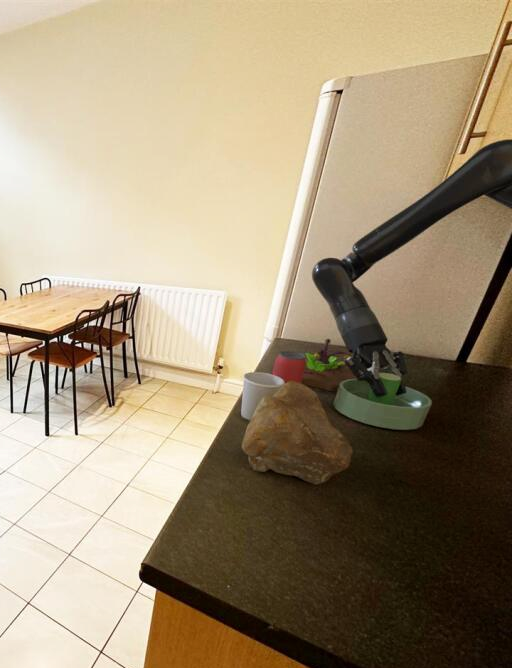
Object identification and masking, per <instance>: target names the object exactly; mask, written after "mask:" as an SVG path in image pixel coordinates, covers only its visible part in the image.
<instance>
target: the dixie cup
mask: <svg viewBox="0 0 512 668" xmlns="http://www.w3.org/2000/svg"><path fill="white" fill-rule="evenodd" d="M242 378H243V383H242V397H241V399H242V400H241V409H240V410H241V411H240V415H241V417H242V418H243V419H245V420H248V421H251V419H252V416H253V414H254V412H255V410H256V408H257V406H258V404H259V403H260V401H261V400H262V398H264V397H266V396H274V395H275V394H276V393H277V392H278V391H279V390H280V389H281V388H282V386H283V385H284V384H285V382H284V380H283V379H281V378H280V377H278V376H275V375H272V373H267V372H261V371H251V372H246V373H244V374H243V376H242Z"/></svg>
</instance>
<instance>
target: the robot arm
mask: <svg viewBox="0 0 512 668" xmlns="http://www.w3.org/2000/svg"><path fill="white" fill-rule="evenodd" d="M483 196H484V197H486V198H489V200H492V201H494V202H496V203H499V204H500V205H502V206H504V207H506V208H507V209H509V210H510V211H512V138H510V139H502V140H497V141H494V142H490V143H488V144H486V145H485V146H483V147H481V148H479V149H478V150H476V151H475V152H474V153H472V154H471V156H470V157H469V158H468V159H467V160H466V161H465V162H464V163H462V165H461V166H459V168H457V169H456V170H455V171H454V172H452V174H450V175H449V176H448V177H447V178H446V179H445V180H443V181H442V182H440V183H439V184H438V185H437V186H436V187H434V188H433V189H431V190H430V191H429V192H427V193H426V194H425V195H423V196H422V197H421V198H419V199H418V200H416V201H415V202H413V203H411V204H410V205H408V206H407V207H405V208H403V210H401V211H399V212H397V213H396V214H394V215H393V216H391V217H389V218H388V219H387V220H385V221H384V222H383V223H381V224H380V225H379V224H378V225H377V226H376V227H375V228H373V229H372V230H370V231H369V232H367V233H365V234H364V235H363V236H361V237H360V238H359V239H357V240H356V241H355V242H354V243H353V244H352V246H351V251H350V252H349V253H348V254H347V255H346V256H345V257H343V258H342V259H340V258H338V257H337V258H336V257H325V258H321V260H319V261H317V262H316V263H315V264H314V266H313V267H312V270H311V279H312V282H313V284H314V286H315V287H316V289H317V291H318V292H319V293H320V295H321V297H322V298H323V299H324V300H325V301H326V303H327V305H328V307H329V310H330V312H331V314H332V317H333V319H334V321H335V324H336V328H337V330H338V332H339V334H340V337H341V339H342V341H343V343H344V345H345V347H346V349H347V352H349V353H350V354H352V355H351V356H349V358H347V359H344V360H343V362H345V363H344V365H347V366H348V367H349V369H350V370H351V371H352V373H353V374H354V375H355V377H356V378H357V379H358V380H359V381H362V380H363V381H366V382H367V383H369V385H370V387H371V389H372V391H373V393H374V394H375V396H376V397H382V396H385V395H387V391H386V389H385V387H384V385H383V383H382V381H381V379H380V380H378V379H379V373H389V374H394V375H397V376H399V377H401V378H403V377H402V376H404V375H407V374H408V369H407V365H406V364H407V363H406V361H405V357H404V353H403V351H400V350H399V351H396V352H394V351H391V349H389V348H388V347H387V346H386V344H387V342H388V340H389V339H388V337H387V335H386V333H385V331H384V330H383V329H384V328H383V327H382V325H381V324H380V321H379V320H378V317H377V315H376V314H375V312H374V311H373V310H372V308H371V306H370V305H369V303H368V301H367V299H366V297H365V295H364V293H363V292H362V291H361V290H360V289H359V288H358V287H356V285H354V282H356V281H357V280H359V278H361V277H362V276H363V275H364V274H366V273H367V272H368V271H369V270H370V269H371V268H372V267H373V266H374V265H375V264H377V263H378V262H380V261H382V260H384V259H385V258H387V257H388V256H390V255H391V254H393V253H395V252H396V251H398V250H399V249H401V248H402V247H404V246H405V245H407V244H408V243H409V242H411V241H413V240H415V238H417V237H418V236H420V235H421V234H423V233H424V232H425V231H427V230H428V229H429V228H431V227H432V226H434V225H435V224H436V223H438V222H439V221H441V220H442V219H444V218H445V217H447V216H449V215H451V214H452V213H454V212H456V211H457V210H459V209H461V208H462V207H464V206H465V205H468V204H469V203H472V202H473V201H476V200H477V199H479V198H481V197H483ZM390 371H391V373H390ZM405 387H406V385H405V384H404V382H403V379H402V380H401V383H400V385H399V388H398V390H397V393H396V395H402V394H405V393H406V392H407V391H406V388H405Z"/></svg>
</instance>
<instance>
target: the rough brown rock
mask: <svg viewBox="0 0 512 668" xmlns="http://www.w3.org/2000/svg"><path fill="white" fill-rule="evenodd" d="M241 449H242V452H243V453H244V454H245V455H246V456H248V462H249V463H248V464H249V465H250V467H251V469H252V470H253V471H256V472H260V473H265V472H267V471H268V470H271V471H273V472H275V473H276V474H282V475H285V476H294V477H297V478H298V479H301V480H303V481H304V482H307V483H309V484H312V485H321V484H324V483H327V482H328V481H329V480H330V478H332V477H333V476H335V475H336V474H339V473H341V472H342V471H344V470H346V469H348V468H349V467H350V465H351V464H350V463H351V461H352V455H353V454H354V453H353V450H354V449H353V447H352V445H351V444H350V442H349V441H348V439H347V438H346V437H345V435H344V434H343V433H342V432H341V431H340V430H339V429H336V428H335V427H334V426H332V425H331V423H330V421H329V419H328V416H327V411H326V410H325V409H324V407H323V405H322V403H321V401H320V399H319V396H318V394H317V393H316V391H314V390H313V389H311V387H309V386H305V385H303V384H301V383H298V382H294V381H290V382H287V383H286V384H285V385H284V386H283V387H282V388H281V389H280V390H279V391H278V392H277V393H276V394H275V395H274V396H266V397H264V398H262V400H261V401H260V403H259V404H258V406H257V408H256V410H255V412H254V414H253V416H252V419H251V420H249V423H248V425H247V426H246V429H245V433H244V435H243V439H242V443H241Z"/></svg>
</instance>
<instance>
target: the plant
mask: <svg viewBox="0 0 512 668" xmlns="http://www.w3.org/2000/svg"><path fill="white" fill-rule="evenodd" d="M331 341H332V340H331V339H330V338H326V339H325V340H324V345H323V348H322V349H320V350H319V351H317V352H316V353H314V355H313V354H312V353H310V352H306V353H305V356H306V358H305V359H306V367H305V371H304V374H303V378H302V381H301V384H303V385H305V386H307V387H309V388H315V389H319V390H324V391H327V392H333V393H337V391H338V388H339V385H340V383H341V382H342V381H345V380H348V379H357V378H356V377H355V375H354V374H353V373H352V371H351V370H350V369H349V367H348V366H347V365H346V364H345V362H344V361H336V360H337V358H338V357H337V356H335V355H342V358H343V359H344V360H345V359H347V358H349V357H350V354H349V353H347V352H344V351H335V352H331V353H329V354H328V347H329V344H331Z"/></svg>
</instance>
